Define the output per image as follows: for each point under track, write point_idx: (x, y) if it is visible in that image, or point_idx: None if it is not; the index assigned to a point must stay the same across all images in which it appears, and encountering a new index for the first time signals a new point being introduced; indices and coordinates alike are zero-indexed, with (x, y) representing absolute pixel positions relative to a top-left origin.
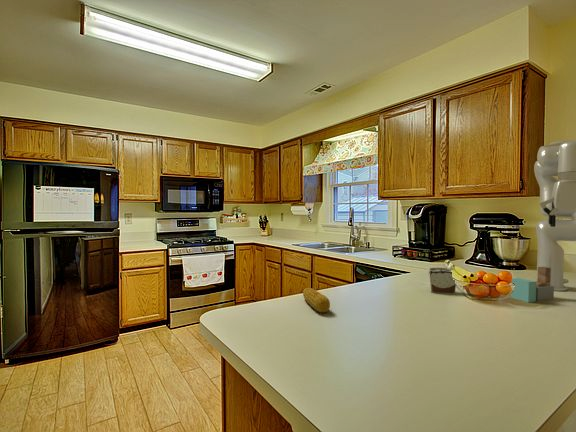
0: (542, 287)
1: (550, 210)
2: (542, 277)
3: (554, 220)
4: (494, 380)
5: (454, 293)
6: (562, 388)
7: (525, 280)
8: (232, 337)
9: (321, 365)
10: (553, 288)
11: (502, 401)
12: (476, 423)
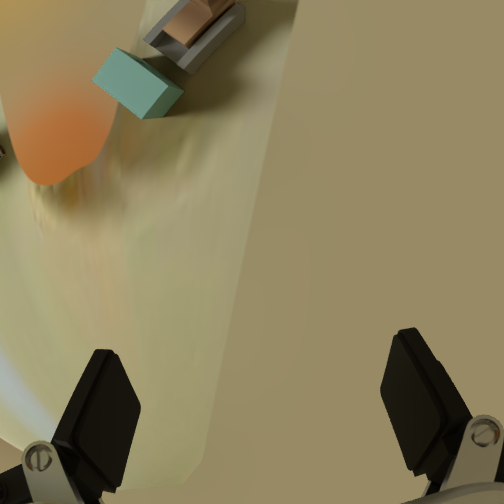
0: (199, 52)
1: (39, 500)
2: (201, 3)
3: (122, 451)
4: (153, 462)
5: (4, 154)
6: (196, 460)
7: (133, 90)
8: (2, 437)
9: None
10: (243, 11)
11: (162, 475)
12: (156, 486)
